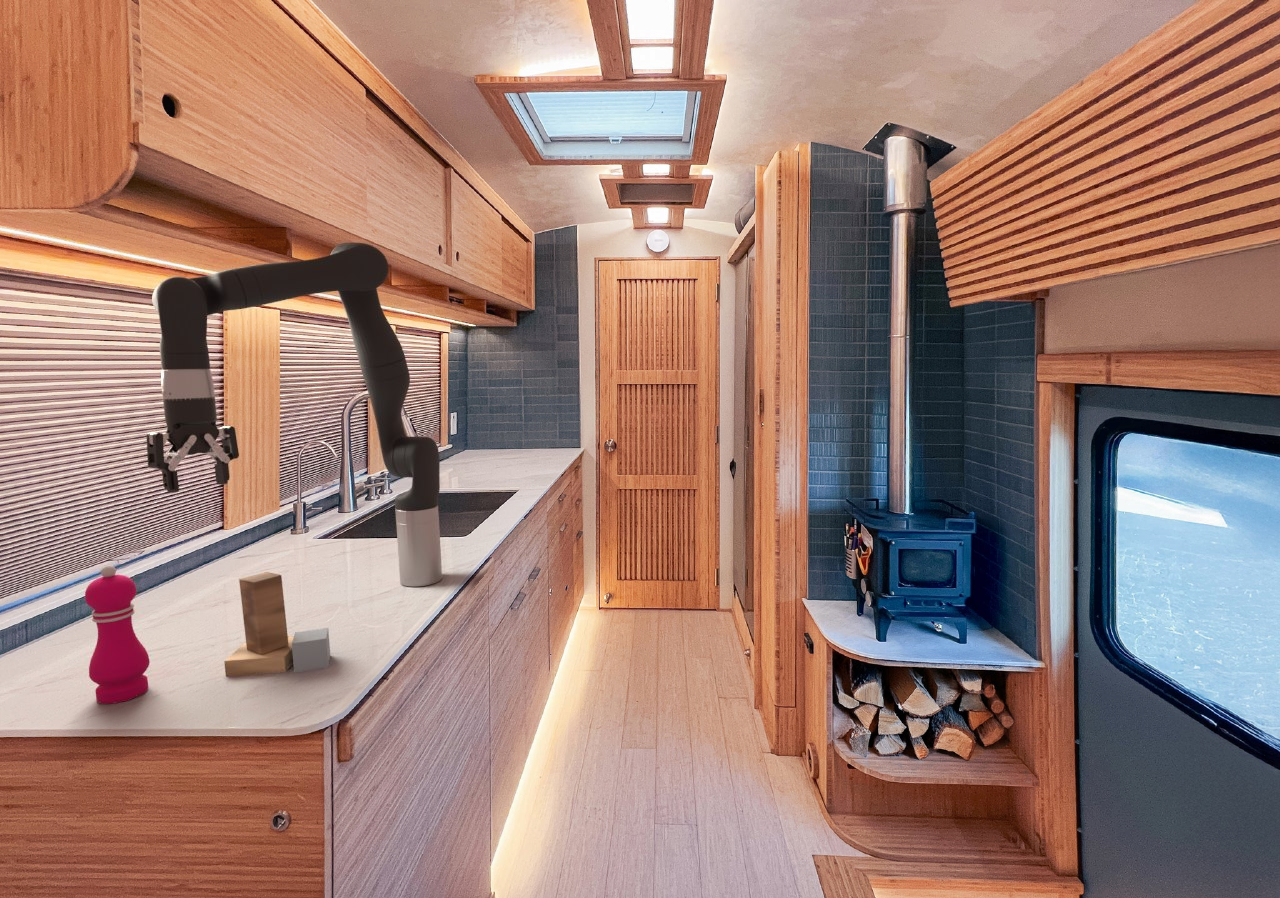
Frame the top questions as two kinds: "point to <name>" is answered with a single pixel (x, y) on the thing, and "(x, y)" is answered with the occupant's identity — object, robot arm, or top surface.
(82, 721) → the top surface
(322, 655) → the slate block
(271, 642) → the walnut pillar
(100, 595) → the pepper mill
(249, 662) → the oak base
